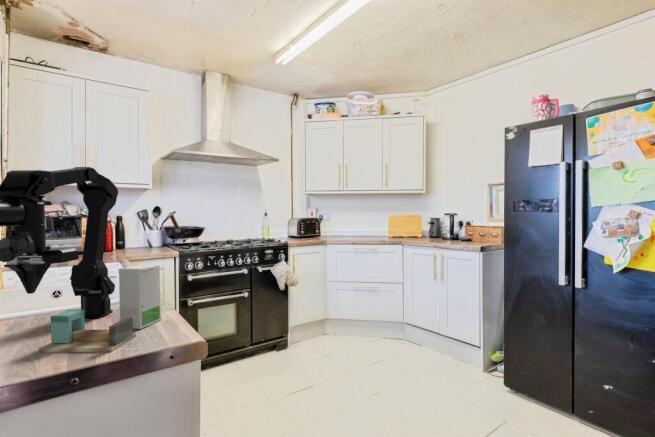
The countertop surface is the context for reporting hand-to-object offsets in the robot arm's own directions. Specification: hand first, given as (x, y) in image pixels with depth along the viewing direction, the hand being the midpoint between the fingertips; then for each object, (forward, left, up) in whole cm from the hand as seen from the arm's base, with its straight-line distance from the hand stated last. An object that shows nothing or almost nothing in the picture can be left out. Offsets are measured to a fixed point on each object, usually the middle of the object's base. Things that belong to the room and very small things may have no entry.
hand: (31, 293), depth 78 cm
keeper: (+8, 0, -11) cm, 14 cm away
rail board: (+14, 0, -12) cm, 18 cm away
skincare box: (+18, +13, -12) cm, 25 cm away
